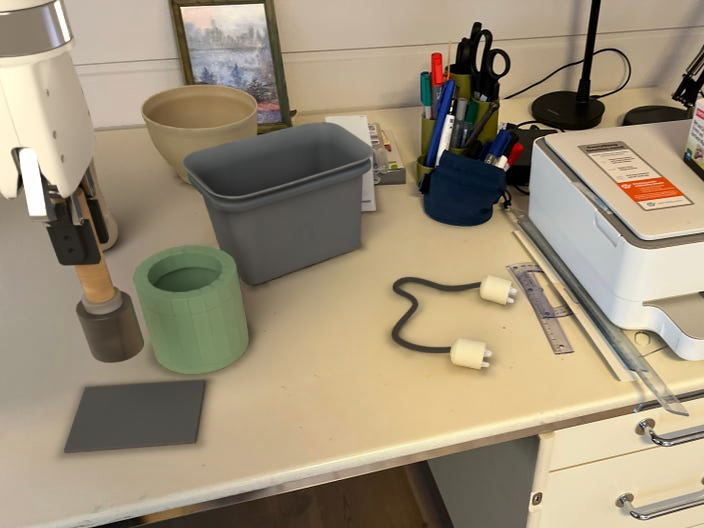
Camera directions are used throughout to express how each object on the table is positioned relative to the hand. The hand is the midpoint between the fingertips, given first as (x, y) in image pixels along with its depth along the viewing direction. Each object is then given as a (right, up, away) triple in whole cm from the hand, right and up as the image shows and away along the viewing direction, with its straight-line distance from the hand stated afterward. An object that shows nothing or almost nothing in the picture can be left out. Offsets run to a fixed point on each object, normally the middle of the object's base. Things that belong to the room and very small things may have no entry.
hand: (85, 251), depth 64 cm
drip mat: (-1, -15, +13) cm, 20 cm away
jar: (+2, -7, +22) cm, 23 cm away
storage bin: (+8, +5, +37) cm, 39 cm away
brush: (-1, -8, +7) cm, 11 cm away
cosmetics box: (+14, +16, +50) cm, 54 cm away
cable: (+29, -5, +27) cm, 40 cm away
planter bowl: (-8, +19, +53) cm, 57 cm away
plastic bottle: (-17, +6, +36) cm, 40 cm away
